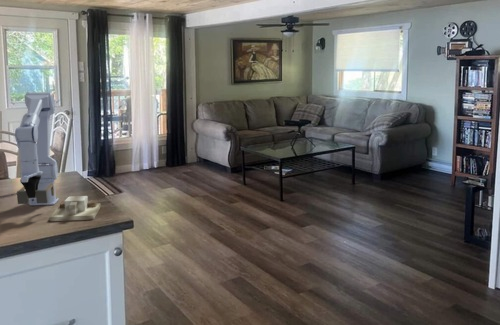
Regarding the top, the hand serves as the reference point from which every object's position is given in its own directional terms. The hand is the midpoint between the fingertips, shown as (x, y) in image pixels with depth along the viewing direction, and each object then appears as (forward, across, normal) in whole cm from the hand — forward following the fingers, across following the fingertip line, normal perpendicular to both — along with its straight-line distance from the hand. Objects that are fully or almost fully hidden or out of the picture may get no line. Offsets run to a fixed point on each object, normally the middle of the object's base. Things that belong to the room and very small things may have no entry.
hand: (32, 196), depth 172 cm
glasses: (+2, +4, 0) cm, 5 cm away
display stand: (+8, +2, -14) cm, 16 cm away
